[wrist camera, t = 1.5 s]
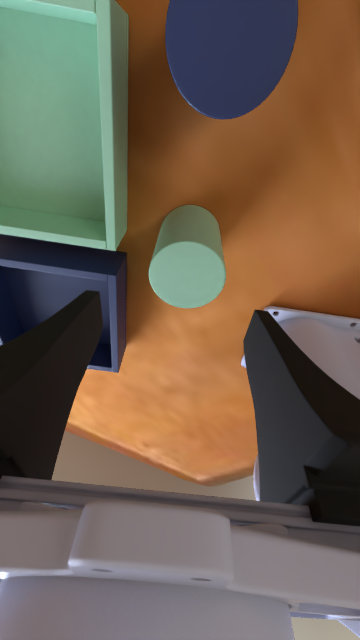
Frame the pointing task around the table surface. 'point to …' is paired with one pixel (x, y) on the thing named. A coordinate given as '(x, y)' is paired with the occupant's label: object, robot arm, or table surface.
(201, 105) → the navy peg
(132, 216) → the table surface
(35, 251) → the navy tub
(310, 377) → the robot arm
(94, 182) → the mint tub
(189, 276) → the mint peg
